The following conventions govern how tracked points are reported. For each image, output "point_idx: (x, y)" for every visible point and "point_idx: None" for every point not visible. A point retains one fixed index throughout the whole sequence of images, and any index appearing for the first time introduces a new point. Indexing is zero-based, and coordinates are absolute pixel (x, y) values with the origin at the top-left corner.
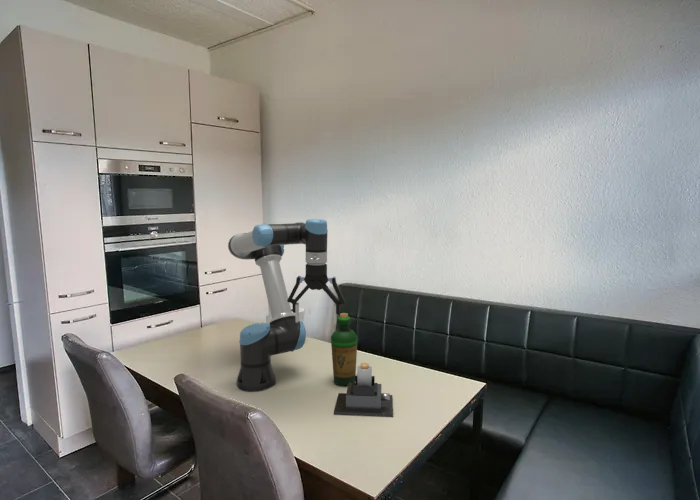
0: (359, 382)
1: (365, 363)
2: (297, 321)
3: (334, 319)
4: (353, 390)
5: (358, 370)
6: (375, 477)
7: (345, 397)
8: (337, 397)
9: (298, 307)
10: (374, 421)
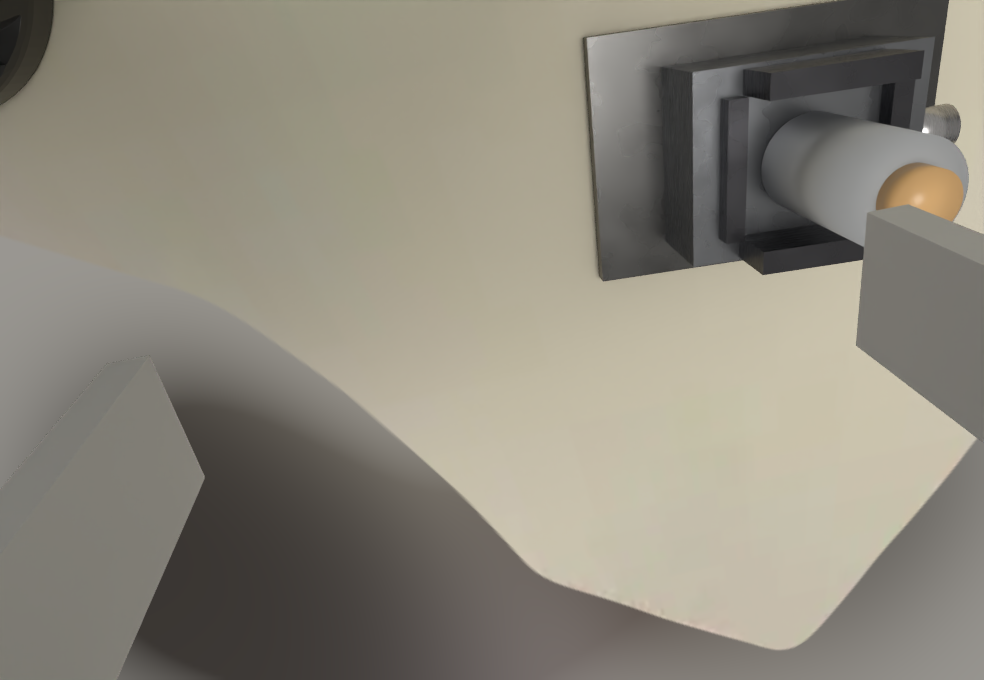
0: (809, 219)
1: (937, 180)
2: (196, 488)
3: (920, 379)
4: (754, 266)
5: (850, 234)
6: (800, 599)
7: (643, 95)
8: (591, 106)
9: (32, 623)
10: (810, 291)
